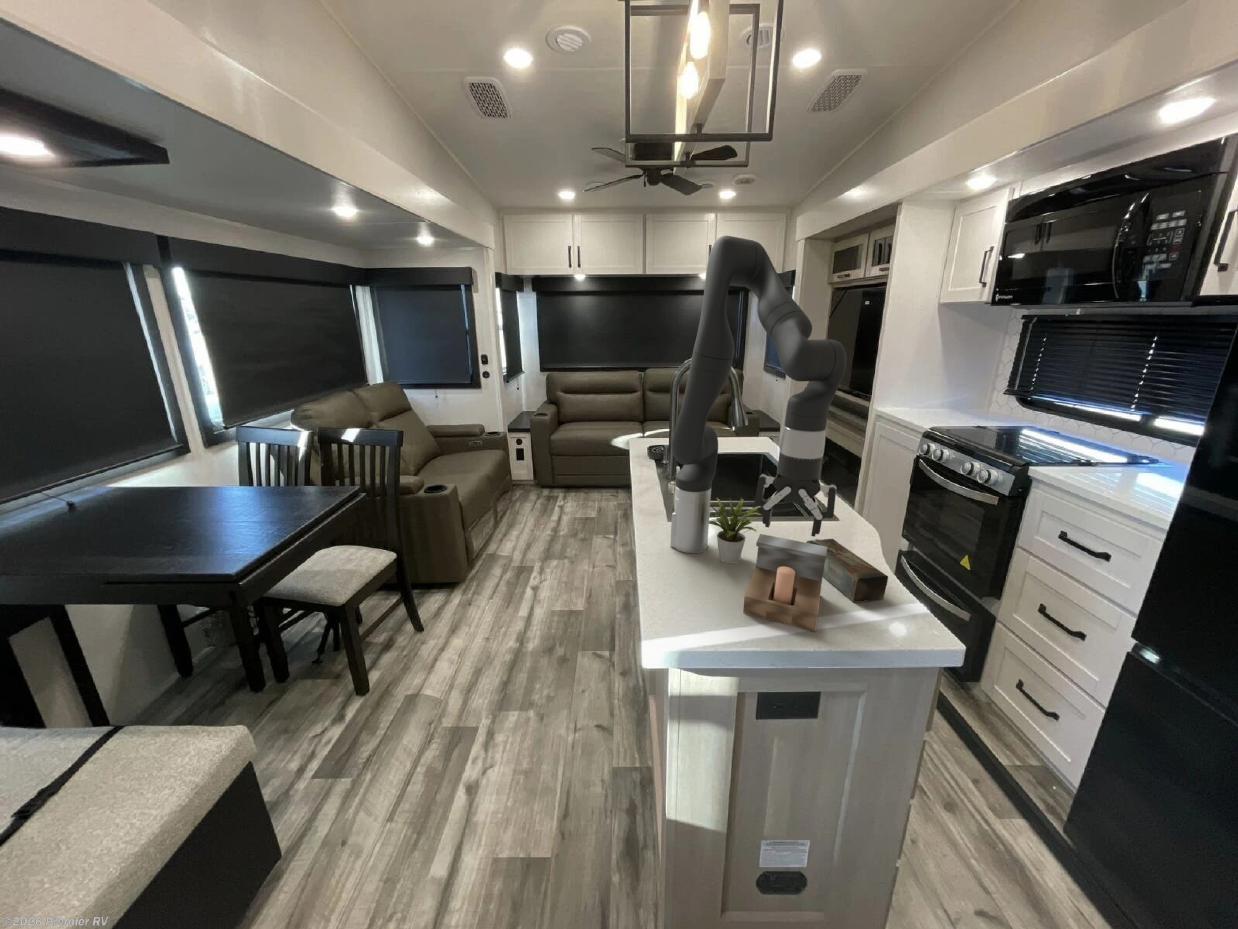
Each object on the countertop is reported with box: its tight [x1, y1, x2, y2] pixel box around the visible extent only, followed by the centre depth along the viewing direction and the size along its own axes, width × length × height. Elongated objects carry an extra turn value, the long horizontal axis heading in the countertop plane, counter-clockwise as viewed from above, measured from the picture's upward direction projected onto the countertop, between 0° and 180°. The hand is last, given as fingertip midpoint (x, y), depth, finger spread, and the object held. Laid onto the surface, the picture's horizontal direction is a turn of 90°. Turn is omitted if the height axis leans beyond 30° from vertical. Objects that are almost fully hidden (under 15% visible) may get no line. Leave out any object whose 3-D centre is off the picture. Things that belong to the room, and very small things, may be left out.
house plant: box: [708, 497, 763, 564], centre depth 113 cm, size 14×14×16 cm
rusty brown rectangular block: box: [805, 538, 889, 603], centre depth 106 cm, size 8×19×7 cm, turn 12°
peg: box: [772, 567, 795, 605], centre depth 93 cm, size 3×3×10 cm
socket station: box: [742, 533, 827, 633], centre depth 96 cm, size 14×14×12 cm
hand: (789, 530), depth 89 cm, fingers open, 8 cm apart
